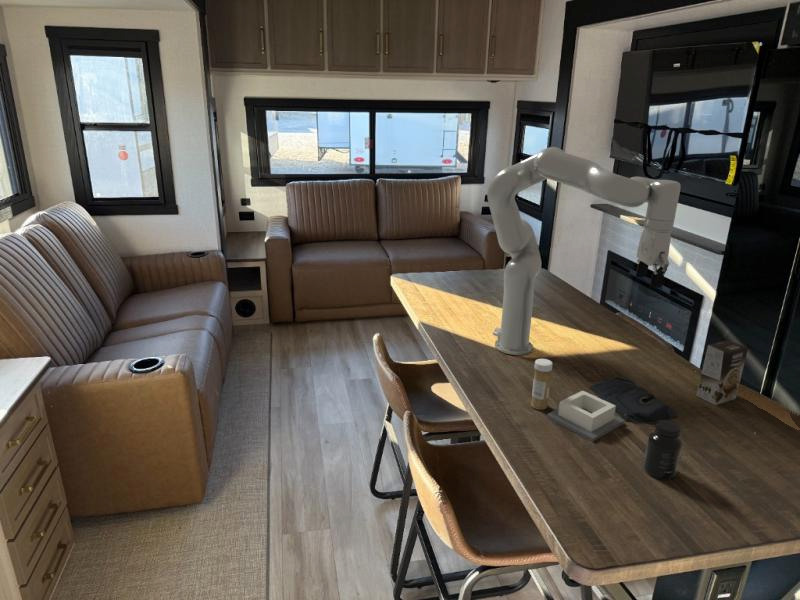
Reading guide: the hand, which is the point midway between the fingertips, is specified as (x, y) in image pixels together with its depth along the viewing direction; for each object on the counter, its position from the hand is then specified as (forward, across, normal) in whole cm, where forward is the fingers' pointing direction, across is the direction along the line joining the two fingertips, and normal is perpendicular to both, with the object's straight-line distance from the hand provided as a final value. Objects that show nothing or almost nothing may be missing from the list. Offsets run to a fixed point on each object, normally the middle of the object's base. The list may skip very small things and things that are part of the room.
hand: (648, 281), depth 168 cm
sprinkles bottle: (+29, +22, -35) cm, 51 cm away
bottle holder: (+29, +29, -25) cm, 48 cm away
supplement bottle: (+29, +50, -15) cm, 60 cm away
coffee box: (+29, +17, +17) cm, 38 cm away
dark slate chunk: (+30, +19, -8) cm, 36 cm away
